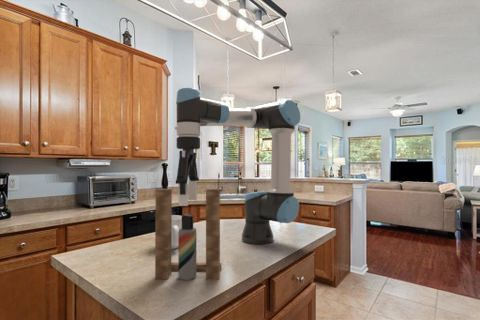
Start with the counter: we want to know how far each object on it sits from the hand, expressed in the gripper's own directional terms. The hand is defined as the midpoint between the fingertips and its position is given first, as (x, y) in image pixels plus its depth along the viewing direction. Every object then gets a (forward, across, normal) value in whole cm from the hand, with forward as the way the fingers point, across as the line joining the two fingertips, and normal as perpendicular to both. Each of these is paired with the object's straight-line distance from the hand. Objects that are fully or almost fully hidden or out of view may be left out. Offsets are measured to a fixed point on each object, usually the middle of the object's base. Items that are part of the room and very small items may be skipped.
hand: (188, 202), depth 86 cm
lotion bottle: (+24, 0, 0) cm, 24 cm away
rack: (+24, -2, 0) cm, 24 cm away
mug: (+24, -30, -14) cm, 41 cm away
